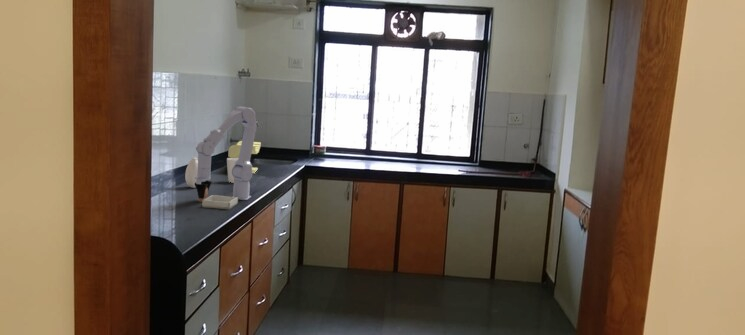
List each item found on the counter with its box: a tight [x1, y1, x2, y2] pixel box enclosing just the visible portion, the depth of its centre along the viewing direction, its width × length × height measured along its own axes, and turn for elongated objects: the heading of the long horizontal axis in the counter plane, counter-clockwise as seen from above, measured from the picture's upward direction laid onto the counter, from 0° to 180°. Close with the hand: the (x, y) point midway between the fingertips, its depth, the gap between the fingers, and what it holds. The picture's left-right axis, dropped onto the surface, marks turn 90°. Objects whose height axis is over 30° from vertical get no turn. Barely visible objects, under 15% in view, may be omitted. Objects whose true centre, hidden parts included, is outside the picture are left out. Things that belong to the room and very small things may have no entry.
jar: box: [197, 187, 209, 203], centre depth 261 cm, size 4×4×7 cm
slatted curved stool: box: [227, 140, 262, 174], centre depth 365 cm, size 30×16×18 cm, turn 5°
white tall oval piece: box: [184, 152, 198, 189], centre depth 292 cm, size 8×8×18 cm
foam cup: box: [226, 157, 239, 184], centre depth 320 cm, size 10×9×13 cm
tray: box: [201, 194, 239, 210], centre depth 256 cm, size 14×12×3 cm
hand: (202, 197), depth 262 cm, fingers closed on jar, 4 cm apart
